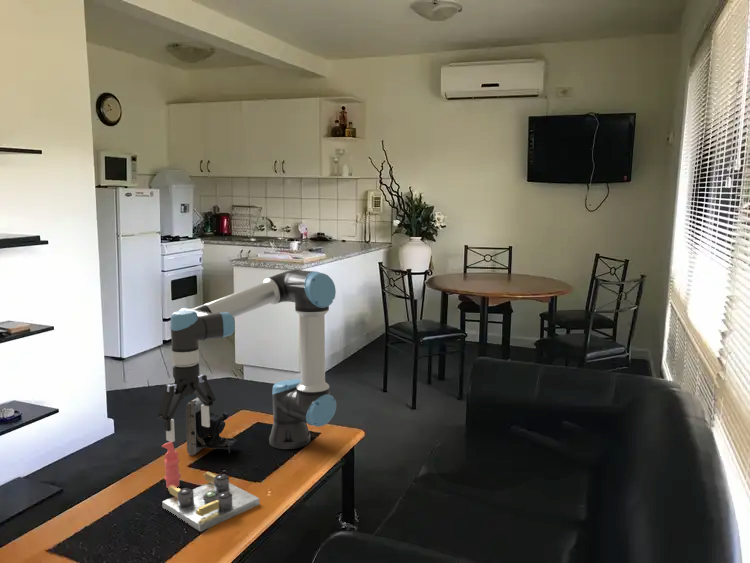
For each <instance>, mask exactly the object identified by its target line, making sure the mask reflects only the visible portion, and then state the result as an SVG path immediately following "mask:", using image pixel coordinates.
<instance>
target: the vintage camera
mask: <svg viewBox="0 0 750 563" xmlns="http://www.w3.org/2000/svg"><path fill="white" fill-rule="evenodd" d="M201 405H204V404H203V403H202V402H201V401H200V400H199V398H198V397H197V396H196V398H194V399H193V400H190V401H189V402H188V403H187V404H186V406H185V411H186V412H185V416H186V417H185V420H186V421H185V423H186V426H185V427H186V430H185V431H186V452H187V453H188V455H189V456H191V457H192V456H195V455H196V454H197V453H199V451H201V450H202V449H204V448H205V449H220V450H222V449H223V450H228V453H229V454H230V453H231V449H230V448H231V447H232V446H233V445H234V444H235V443H237V441H238V439H235V438H232V437H226V436H225V437H222V436H220V434H222V433H223V432H224V430H225V427H226V422H225V421H226V420H228V419H229V416H230V413H228V412H226V411H224V412H223V413H222V416H220V415H219V414H217V413H213V412H211V413H210V415H209V416H210V427H205V426H202V420H201Z"/></svg>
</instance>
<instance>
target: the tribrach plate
mask: <svg viewBox="0 0 750 563" xmlns="http://www.w3.org/2000/svg"><path fill="white" fill-rule="evenodd" d="M192 490H193V495H194V503H193V504H191V505H189V506H179V505H178V498H177V497H175V496H172V497H170V498H167V499H165V500H163V501H161V502H162V505H161V506H162V509H164V510H165V509H166V511H167V510H168V511H169V512H168V511H167V512H168V513H170V512H171V513H172V515H173V514H174V515H173V516H175V515H176V516H177V517H176V516H175V517H176V518H178V519H179V518H180V519H179V520H181V519H182V520H183V522H184V521H185V522H184V523H185V524H187V523H188V524H187V525H189V526H190V527H192V528H193V529H195V530H197V531H198V532H204V531H205V530H208V529H210V528H211V527H214V526H216V525H218V524H220V523H222V522H225V521H227V520H229V519H231V518H234V517H235V516H237V515H240V514H242V513H244V512H247V511H249V510H250V509H251V510H252V509H253V508H256V507H257V506H259V505H260V497H258V496H256V495H254V494H252V493H249V492H248V491H246V490H244V489H242V488H240V487H238V486H236V485H234V484H232V483H230V482H229V488H228V489H227V490H225V491H215V490H214V484H213V483H211V482H208V483H205V484H202V485H200V486H198V487H195V488H193V489H192ZM221 492H229V493H231V494H232V508H230V509H228V510H218V509H217V510H215V511H213V512H210V513H208V514H206V515H203V516H200V515H197V514H196V511H197V510H198V509H199V507H201V506H203V505H206V504H208V503H210V502H213V501H215V500H216V496H217V495H218V494H219V493H221ZM171 513H170V514H171ZM182 520H181V521H182Z"/></svg>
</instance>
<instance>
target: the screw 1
mask: <svg viewBox="0 0 750 563" xmlns="http://www.w3.org/2000/svg"><path fill="white" fill-rule="evenodd" d="M167 490H168V492H169V494H170V495H172V497H177V498H178V505H179V506H189V505H191V504H193V503H194V495H193V490H192V489H191V488H190V487H184V488H179V487H178V488H177V487H176V486H174V485H172V486H169V488H168V489H167Z"/></svg>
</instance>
